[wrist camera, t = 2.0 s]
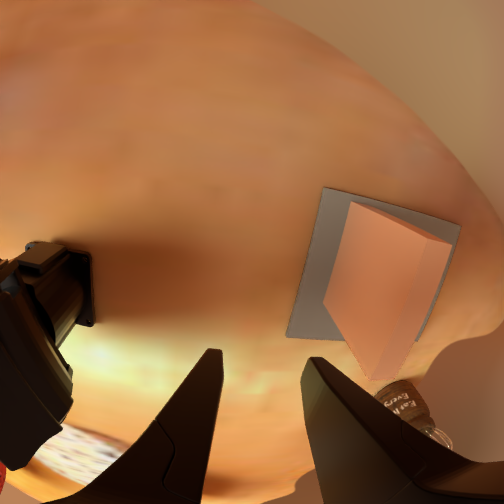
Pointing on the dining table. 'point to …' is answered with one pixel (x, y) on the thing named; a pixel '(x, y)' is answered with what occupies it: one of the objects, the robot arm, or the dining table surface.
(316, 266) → the slate mat
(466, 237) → the dining table surface
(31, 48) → the dining table surface
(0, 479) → the plant pot
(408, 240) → the block
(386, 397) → the utensil holder
